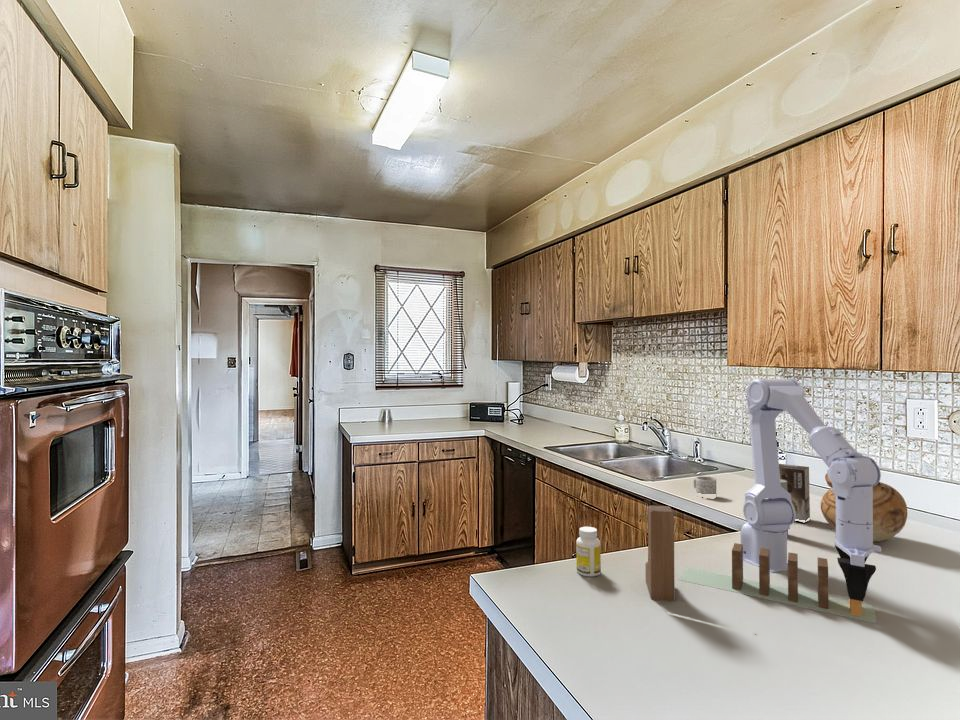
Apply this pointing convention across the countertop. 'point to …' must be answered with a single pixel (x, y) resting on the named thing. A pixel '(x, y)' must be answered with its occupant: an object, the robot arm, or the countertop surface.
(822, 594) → the domino
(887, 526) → the clay pot
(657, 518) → the wooden block
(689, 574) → the mat
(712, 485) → the mug
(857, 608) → the orange domino
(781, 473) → the coffee box
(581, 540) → the supplement bottle
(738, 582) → the domino
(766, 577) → the domino
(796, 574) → the domino
